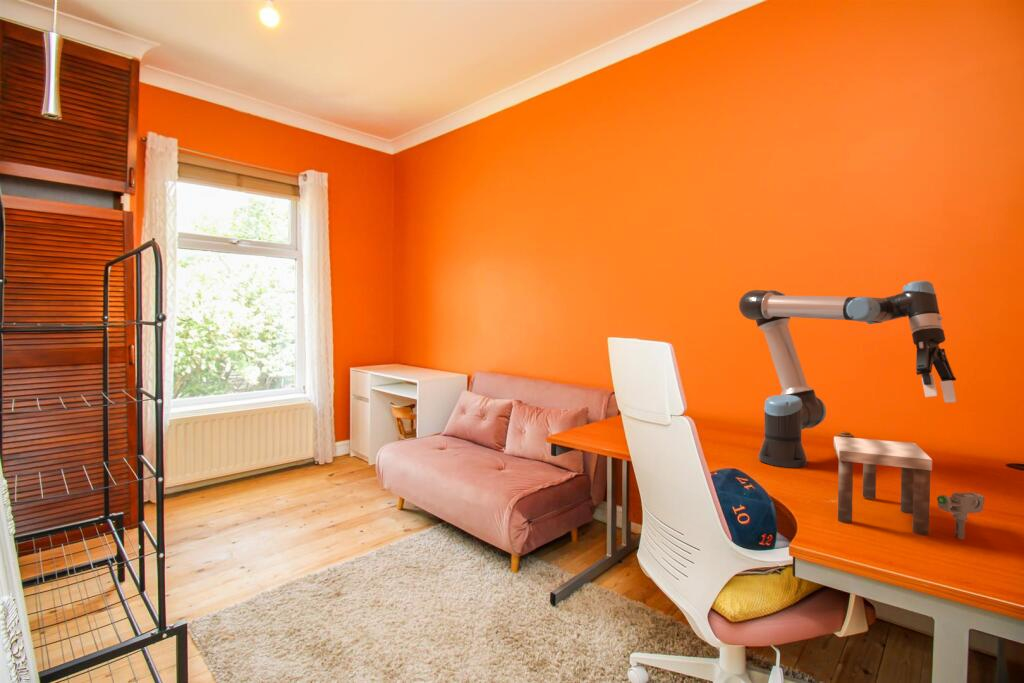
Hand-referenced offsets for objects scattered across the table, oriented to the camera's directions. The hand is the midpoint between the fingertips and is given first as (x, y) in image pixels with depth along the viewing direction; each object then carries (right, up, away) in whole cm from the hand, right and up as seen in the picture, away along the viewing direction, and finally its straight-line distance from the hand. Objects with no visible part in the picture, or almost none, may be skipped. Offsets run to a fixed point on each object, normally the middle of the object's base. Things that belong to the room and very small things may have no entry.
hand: (941, 399), depth 147 cm
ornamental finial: (+2, -26, +45) cm, 52 cm away
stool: (-32, -28, -18) cm, 46 cm away
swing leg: (-27, -27, -8) cm, 39 cm away
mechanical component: (-22, -28, -31) cm, 48 cm away
